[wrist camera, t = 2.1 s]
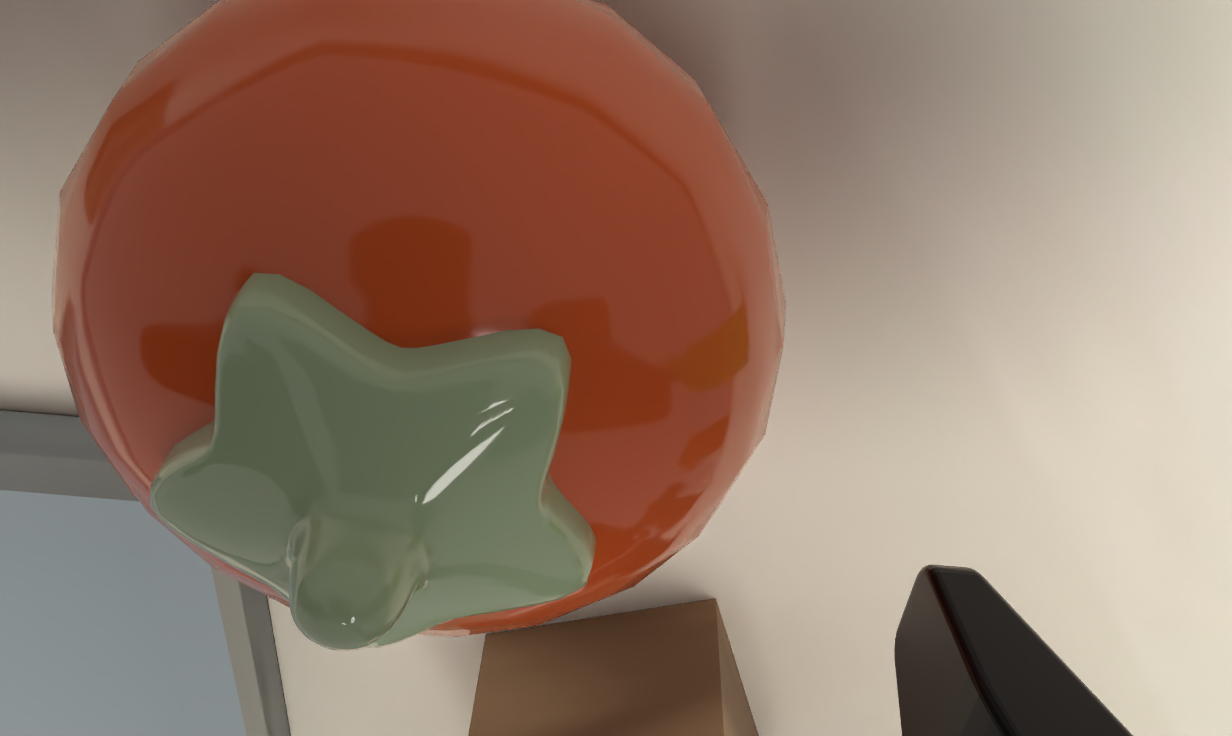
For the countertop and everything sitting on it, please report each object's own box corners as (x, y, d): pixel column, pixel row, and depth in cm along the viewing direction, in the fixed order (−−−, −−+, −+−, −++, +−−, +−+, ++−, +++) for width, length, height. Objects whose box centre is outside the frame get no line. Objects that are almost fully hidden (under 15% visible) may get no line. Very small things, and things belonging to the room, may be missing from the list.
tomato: (100, 142, 14) (-393, 585, 7) (481, -281, 11) (221, -159, 4) (486, 461, 17) (379, 971, 11) (864, 200, 14) (1045, 688, 8)
